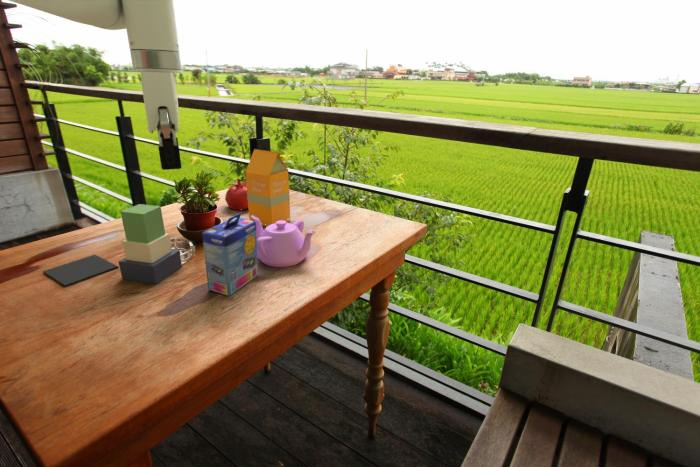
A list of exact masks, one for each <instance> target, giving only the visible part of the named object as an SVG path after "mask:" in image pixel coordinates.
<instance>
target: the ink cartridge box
mask: <svg viewBox="0 0 700 467" xmlns="http://www.w3.org/2000/svg"><path fill="white" fill-rule="evenodd" d="M241 216H242V212H238V213H237V214H235V215H233V216H231V217H229V218H228V219H227V220H225V221H223V222H222V223H219V224H216V225H214V226H212V227H210V228H207V229H206V230H204V231H203V232H201V237H202V245H203V253H204V262H205V271H206V280H207V289H208V291H212V292H215V293H218V294H221V295H223V296H227V297H231V295H233V294H235V293H236V292H237V291H239V290H240V289H241V288H242V287H244V286H245V285H247V284H248V283H249V282H251V281H253V280H254V279H256V278H257V277H259V263H258V262H259V261H258V260H259V259H258V257H257V237H256V221H253V220H249V218H243V217H241Z"/></svg>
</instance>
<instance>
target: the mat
mask: <svg viewBox="0 0 700 467" xmlns="http://www.w3.org/2000/svg"><path fill="white" fill-rule="evenodd" d="M116 269H119V265H117V264H114V263H112V262H111V261H109V260H107V259H105V258H103V257H101V256H99V255H97V254H92V255H89V256H85V257H83V258H79V259H76V260H73V261H70V262H67V263H64V264H60V265H58V266H55V267H51V268H48V269H45V270H43V271H42V273H43V274H44V275H46V276H48V277H49V278H51V279H52V280H54V281H55V282H57V283H59V284H60V285H62V286H63V287H66V288H67V287H69V286H72V285H75V284H78V283H81V282H83V281H86V280H88V279H92V278H94V277H97V276H99V275H102V274H105V273H108V272H111V271H113V270H116Z"/></svg>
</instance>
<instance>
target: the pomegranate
mask: <svg viewBox="0 0 700 467" xmlns="http://www.w3.org/2000/svg"><path fill="white" fill-rule="evenodd" d="M227 186H228V190H226V193H225V196H224V200H225V202H226V204H227V206H228V207H229V208H230V209H232V208H233V209H232V210H233V211H234V210H235V211H242V210H241V209H244V210H243V211H245V210H248V209H247V208H248V199H247V185H246V180H245V181H243V182H242V180H241V178H237V179H236V184H234V183H229V184H227ZM229 186H230V187H229Z"/></svg>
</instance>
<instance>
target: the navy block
mask: <svg viewBox="0 0 700 467" xmlns="http://www.w3.org/2000/svg"><path fill="white" fill-rule="evenodd" d="M117 263H118V267H119V271H120V275H121V279H122V280H126V281H132V282H139V283H146V284H151V285H158V284H159V283H161V282H162V281H164V280H165V279H167V278H168V277H170V276H171V275H173V274H174V273H176V272H177V271H178V270H180V269H181V268H183V263H182V257H181V251H180V249H175V248H172V252H170V253H168V254H167V255H165V256H163V257H162V258H160V259H159V260H157V261H155V262H154V263H146V262H139V261H132V260H126V257H124V258H122V259H119V260H118V261H117Z"/></svg>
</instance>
